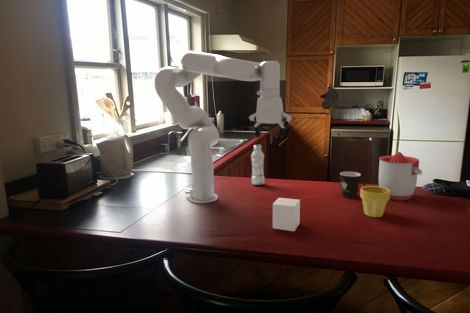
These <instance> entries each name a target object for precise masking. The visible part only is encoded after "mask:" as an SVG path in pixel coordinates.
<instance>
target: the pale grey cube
mask: <svg viewBox="0 0 470 313" xmlns="http://www.w3.org/2000/svg"><path fill="white" fill-rule="evenodd" d="M300 211H301V199H297V198H296V199H295V198H285V197H278V198H277V199H276V200H275V201H274V202H273V203H272V229H274V230H282V231H289V232H295V231H296V230H297V228H298V226H299V225H300V220H301V216H300V214H301V213H300Z"/></svg>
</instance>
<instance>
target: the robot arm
mask: <svg viewBox="0 0 470 313" xmlns="http://www.w3.org/2000/svg"><path fill="white" fill-rule="evenodd" d="M180 64H181V65H180V66H179V67H175V66H166V67H162V68H160V69H159V70H158V71H157V73H156V75H155V78H154V88H155V91H156V94H157V95H158V97H159V99H160V101H162V103H163V104H164V105H165V107H166V108H167V110H168V112H169V113H170V115H171V116H172V117H173V119H174V120H175V122H176V123H177V124H178V126H180V128H182V129H184V130H191V129H192V130H191V132H190V133H189V134H188V136H187V146H188V149H189V156H190V157H189V158H190V168H191V170H190V171H191V188H190V187H189V188H188V187H186V188H185V191H184V192H185V194H187V195H189V197H188V200H189V202H191V203H193V204H194V203H195V204H208V203H213V202H216V201H217V200H218V197H219V195H218V194H216V193H215V183H214V182H215V178H214V159H213V153H212V147H213V146H216V145H217V144H218V142H219V141H220V133H219V130H218V128H217V127H216V125H215V124H214V122H213V120H211V118H210V117H209V116H208V113H206V112H205V110H204V109H203V108H202V107H200V106H197V105H192V106H191V105H190V104H189V102H188V101H187V100H186V99H185V97H184V96H183V94H182V93H181V92H180V91H179V90H178V89H177V88H183V87H185V86H188V85H189V84H191V83H192V82H193V81H194V80H195V79H197V78H198V77H199V76H201V75H205V76H207V75H208V76H212V77H217V78H227V79H231V80H232V79H233V80H235V81H236V80H238V81H242V82H243V81H245V82H256V81H259V83H260V84H259V87H260V88H259V90H257V91H256V94H257V95H258V96H259V97H258V98H257V102H256V112H254V113H253V114H251V115H249V116H248V119H249V120H250V123H251V124H252V125H253V126H254V129H255V132H254V133H255V136H256V138H261V136H262V133H261V132H262V130H261V125H262V124H278V125H279V126H280V128H279V139H283V138H284V136H286V128H287V126H288V125H289V124H290V122H291V120H292V116H291V115H289V114H288V113H286V112H284V107H283V106H284V105H283V100H282V97H281V96H280V92H281V90H280V89H281V87H280V86H281V85H280V80H281V79H280V78H281V75H280V74H281V73H280V72H281V71H280V68H281V66H280V63H279V61H276V60H265V61H261V62H256V61H252V60H245V59H241V58H240V59H239V58H232V57H226V56H223V55H220V54H215V53H210V52H209V53H207V52H202V51H195V50H187V51H186V52H184V53H183V54H182V56H181V59H180ZM284 118H285V119H286V121H285V122H284Z"/></svg>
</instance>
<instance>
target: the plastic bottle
mask: <svg viewBox="0 0 470 313" xmlns="http://www.w3.org/2000/svg"><path fill="white" fill-rule="evenodd" d="M262 148H263V147H262V145H261V144H254V145H253V151H252V153H251V154H250V159H251V170H252V171H251V177H250V178H251V184H253V185H254V186H262V185H264V184H265V180H266V179H265V174H264V162H265V160H264V159H265V154H264V152H263V150H262Z"/></svg>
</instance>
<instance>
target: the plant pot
mask: <svg viewBox="0 0 470 313" xmlns="http://www.w3.org/2000/svg"><path fill="white" fill-rule="evenodd" d="M363 186H364V185H363ZM363 186H362V187H361V188H360V189H361V190H360V191H359V192H360V194H359V197H360V198H361V200H362V202H361V203H362V206H363V213H364V215H365V216H367V217H370V218H381V217H383V215H384V212H385V210H386V206H387V203H388V201H390V199H389V198H390V190H389V189H387V188H383V187H379V185H378V186H377V185H365V186H364V187H363Z"/></svg>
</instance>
